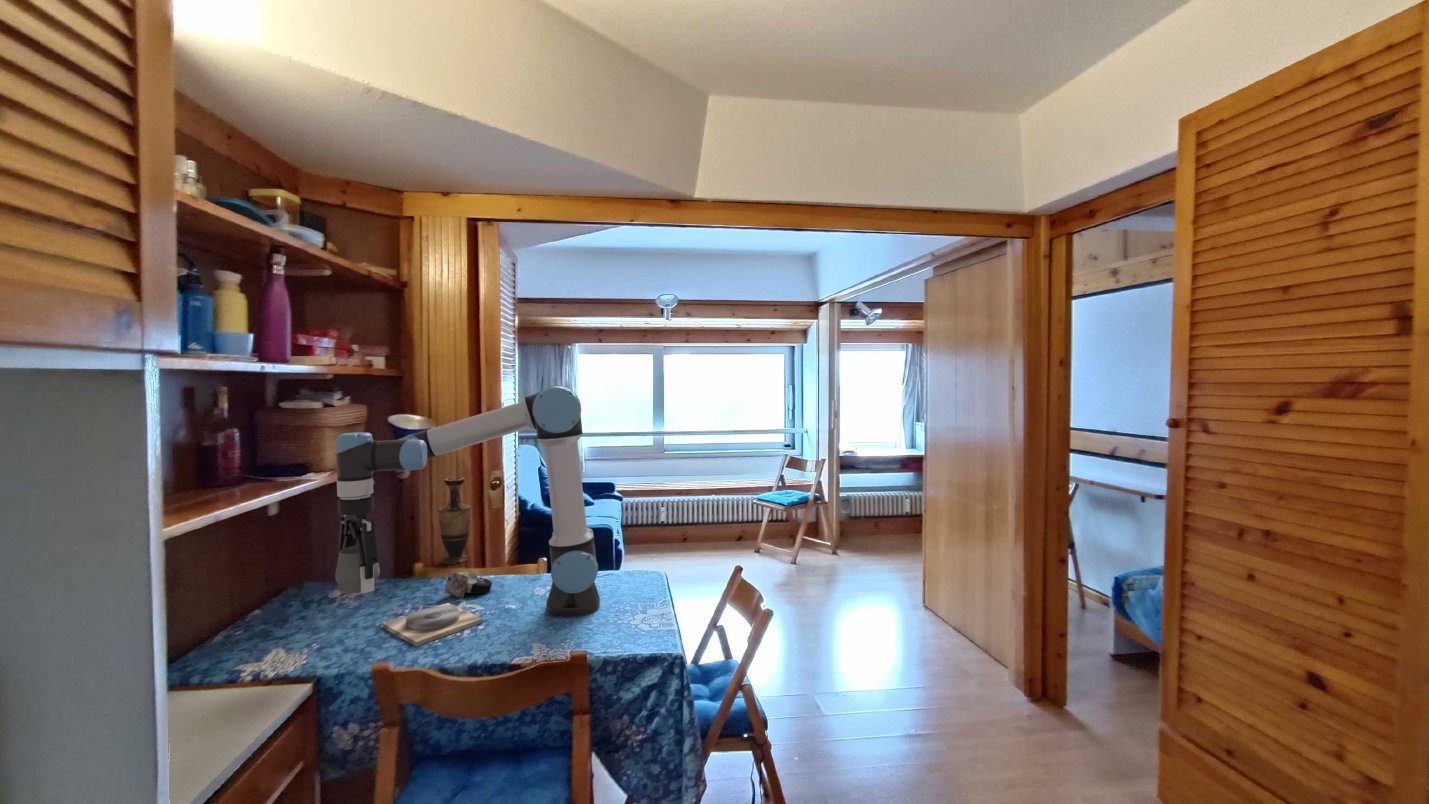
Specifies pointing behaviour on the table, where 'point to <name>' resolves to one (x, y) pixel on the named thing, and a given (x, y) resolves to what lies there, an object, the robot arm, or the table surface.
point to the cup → (351, 570)
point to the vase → (454, 524)
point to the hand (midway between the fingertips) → (358, 587)
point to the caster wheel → (466, 584)
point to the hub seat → (432, 623)
